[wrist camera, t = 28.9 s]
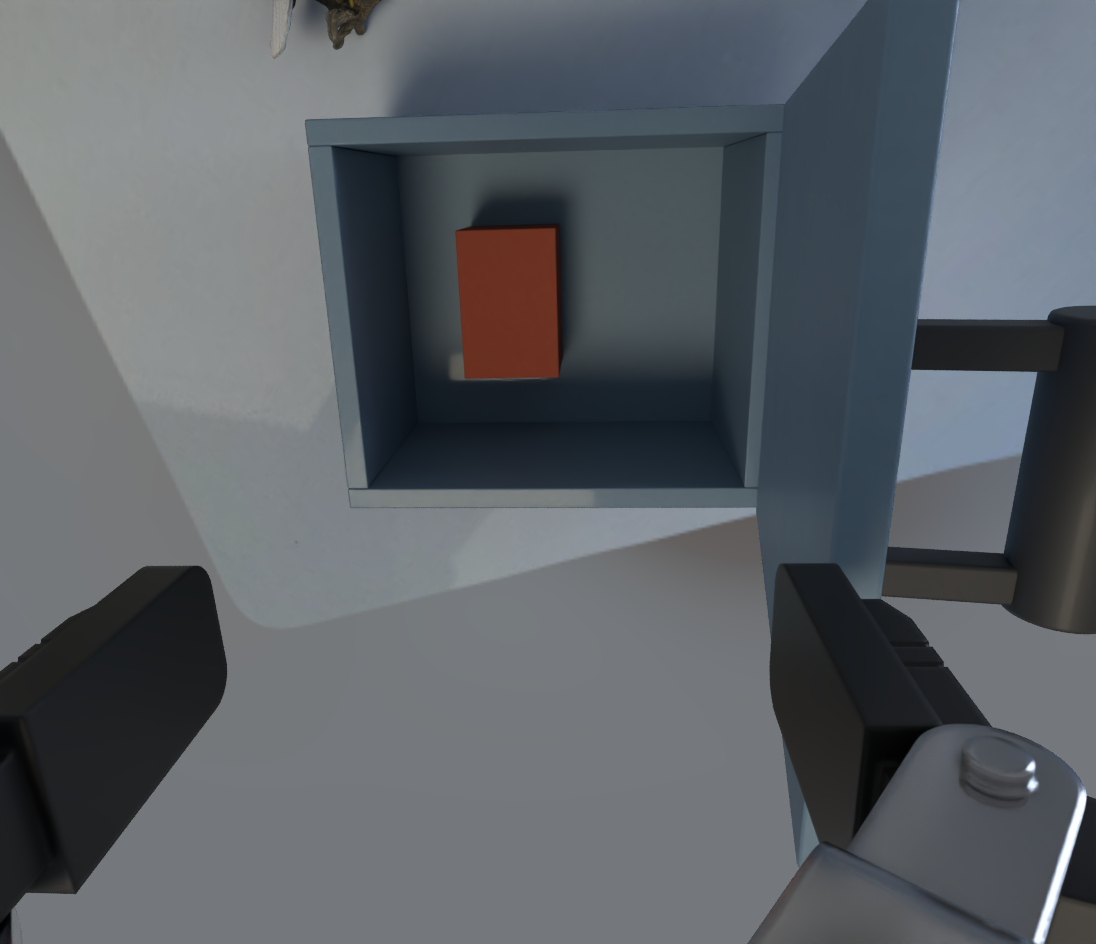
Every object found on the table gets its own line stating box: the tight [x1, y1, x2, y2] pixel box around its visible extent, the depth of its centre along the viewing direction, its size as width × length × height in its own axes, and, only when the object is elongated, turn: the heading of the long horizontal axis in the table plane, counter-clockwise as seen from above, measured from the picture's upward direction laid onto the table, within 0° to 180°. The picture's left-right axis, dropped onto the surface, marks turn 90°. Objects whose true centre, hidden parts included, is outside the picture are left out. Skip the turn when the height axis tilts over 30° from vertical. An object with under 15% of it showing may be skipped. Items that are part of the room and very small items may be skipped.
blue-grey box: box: [305, 104, 785, 508], centre depth 32 cm, size 16×14×10 cm
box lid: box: [756, 0, 1096, 868], centre depth 18 cm, size 16×14×5 cm
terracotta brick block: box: [455, 224, 563, 379], centre depth 34 cm, size 6×4×4 cm, turn 2°
